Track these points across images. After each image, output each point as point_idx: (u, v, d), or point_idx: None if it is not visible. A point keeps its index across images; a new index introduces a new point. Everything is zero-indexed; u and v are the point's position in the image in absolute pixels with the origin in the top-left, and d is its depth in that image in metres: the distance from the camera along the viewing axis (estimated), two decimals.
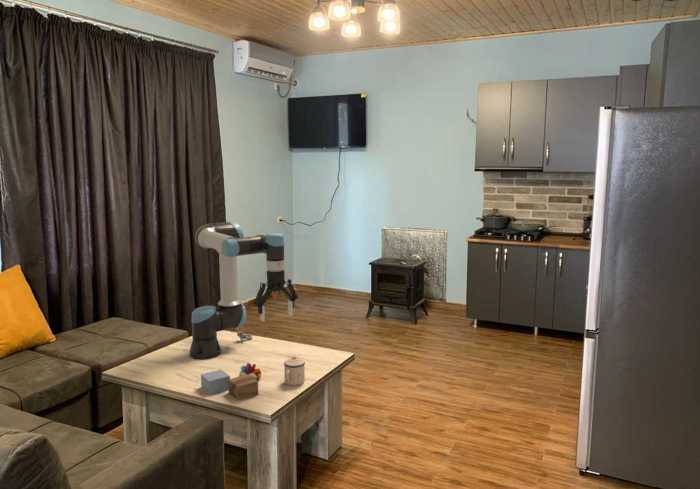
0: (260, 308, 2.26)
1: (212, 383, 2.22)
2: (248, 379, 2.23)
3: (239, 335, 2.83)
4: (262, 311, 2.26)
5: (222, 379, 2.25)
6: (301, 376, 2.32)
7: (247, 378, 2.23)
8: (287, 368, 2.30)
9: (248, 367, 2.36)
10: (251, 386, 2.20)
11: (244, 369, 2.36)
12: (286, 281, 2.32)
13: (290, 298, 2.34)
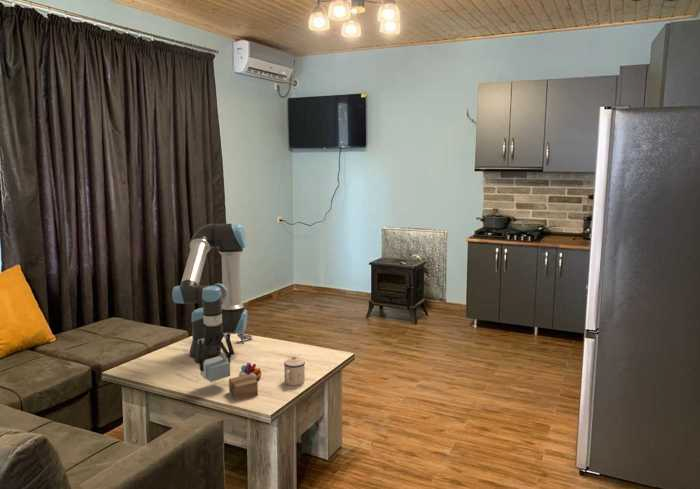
0: (201, 365, 2.23)
1: (212, 370, 2.22)
2: (249, 379, 2.23)
3: (239, 336, 2.83)
4: (203, 368, 2.23)
5: (222, 365, 2.25)
6: (301, 376, 2.32)
7: (247, 379, 2.23)
8: (287, 368, 2.30)
9: (248, 367, 2.36)
10: (251, 387, 2.19)
11: (244, 369, 2.37)
12: (225, 335, 2.27)
13: (226, 354, 2.28)
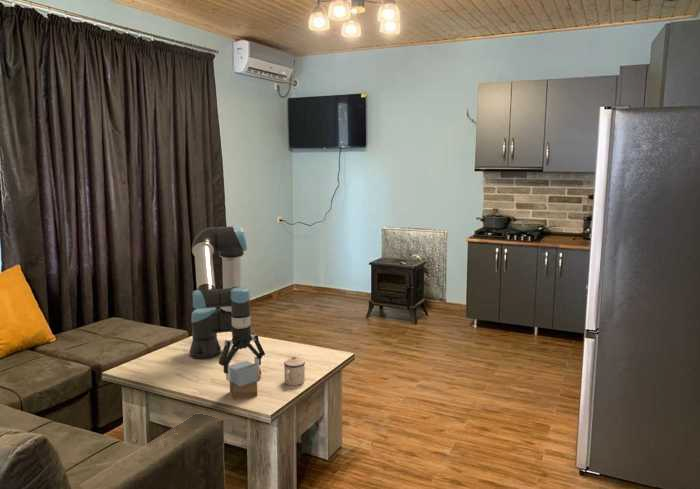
0: (225, 367, 2.16)
1: (241, 374, 2.16)
2: None
3: None
4: (228, 370, 2.16)
5: (251, 369, 2.19)
6: (301, 376, 2.32)
7: None
8: (287, 368, 2.30)
9: None
10: (250, 387, 2.19)
11: None
12: (253, 337, 2.22)
13: (256, 355, 2.23)
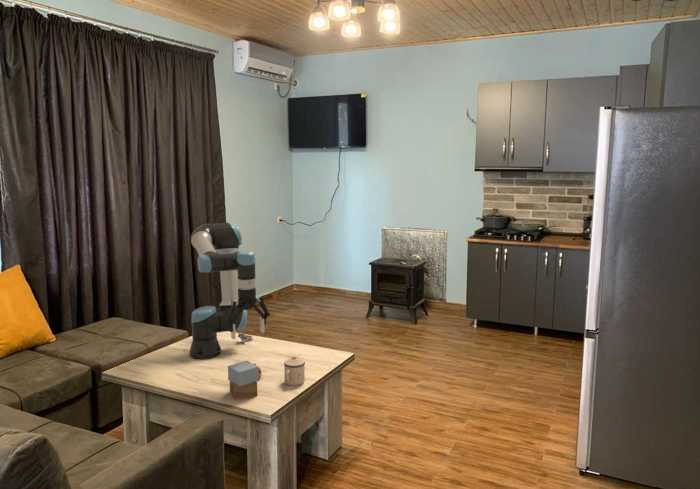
0: (231, 326, 2.28)
1: (241, 374, 2.16)
2: None
3: (240, 336, 2.82)
4: (233, 329, 2.28)
5: (251, 369, 2.19)
6: (301, 376, 2.32)
7: None
8: (287, 368, 2.30)
9: None
10: (250, 387, 2.19)
11: None
12: (258, 299, 2.34)
13: (262, 315, 2.35)
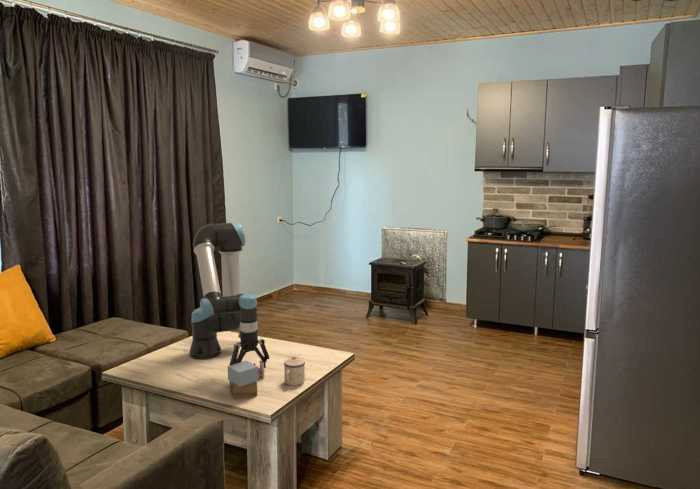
0: None
1: (241, 374, 2.16)
2: None
3: None
4: None
5: (251, 370, 2.19)
6: (301, 376, 2.32)
7: None
8: (287, 368, 2.30)
9: None
10: (250, 387, 2.19)
11: None
12: (259, 341, 2.38)
13: (262, 359, 2.39)
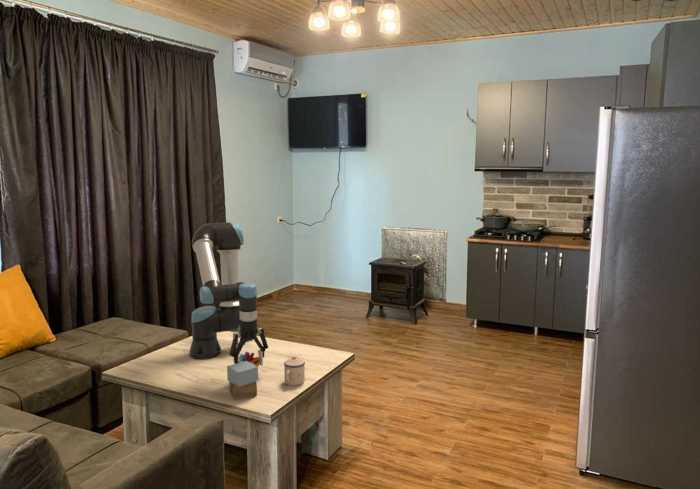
0: (236, 358, 2.32)
1: (241, 374, 2.16)
2: None
3: None
4: (237, 361, 2.32)
5: (251, 370, 2.19)
6: (301, 376, 2.32)
7: None
8: (287, 368, 2.30)
9: (247, 356, 2.36)
10: (250, 387, 2.19)
11: (242, 358, 2.37)
12: (259, 330, 2.37)
13: (260, 348, 2.38)
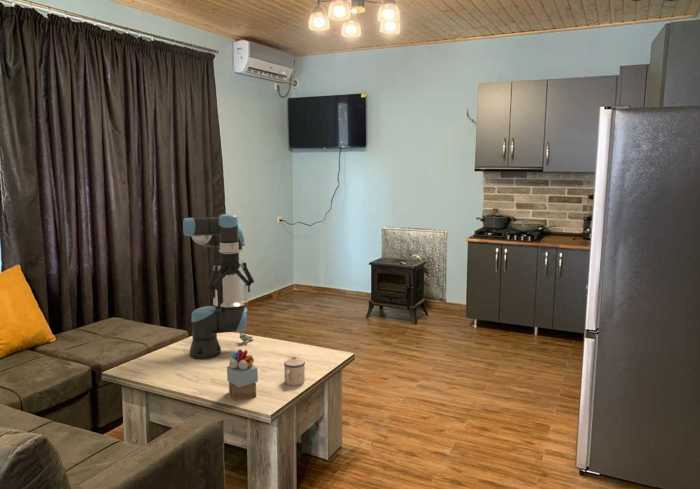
0: (213, 292, 2.18)
1: (240, 375, 2.15)
2: None
3: (242, 337, 2.80)
4: (215, 295, 2.18)
5: (250, 371, 2.18)
6: (301, 376, 2.32)
7: None
8: (287, 368, 2.30)
9: (239, 353, 2.19)
10: (249, 388, 2.18)
11: (235, 356, 2.19)
12: (241, 264, 2.24)
13: (245, 282, 2.26)
